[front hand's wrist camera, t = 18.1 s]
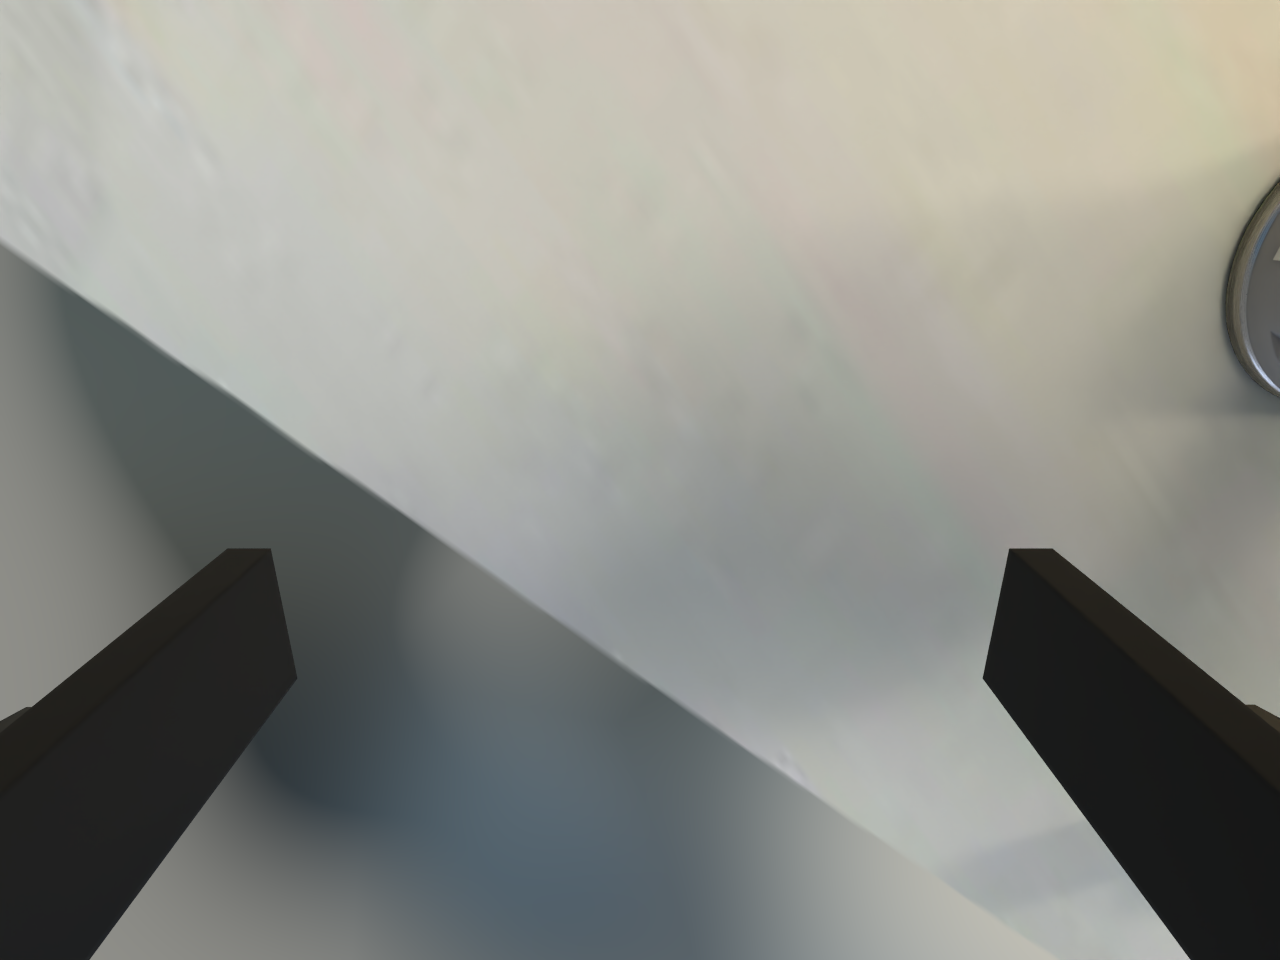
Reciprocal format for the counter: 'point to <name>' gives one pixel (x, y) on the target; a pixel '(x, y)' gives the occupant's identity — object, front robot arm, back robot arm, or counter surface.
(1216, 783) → the front robot arm
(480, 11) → the counter surface
